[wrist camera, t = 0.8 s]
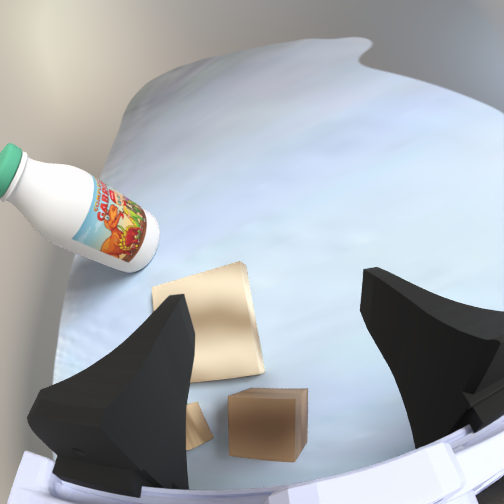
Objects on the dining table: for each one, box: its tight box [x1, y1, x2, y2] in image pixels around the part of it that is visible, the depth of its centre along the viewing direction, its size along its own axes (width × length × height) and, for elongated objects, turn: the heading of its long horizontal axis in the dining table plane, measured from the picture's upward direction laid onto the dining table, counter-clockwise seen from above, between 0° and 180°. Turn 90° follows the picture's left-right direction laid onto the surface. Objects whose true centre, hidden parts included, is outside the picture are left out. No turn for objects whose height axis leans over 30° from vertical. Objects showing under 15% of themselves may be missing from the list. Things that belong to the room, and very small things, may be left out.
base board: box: [152, 261, 265, 383], centre depth 27 cm, size 10×10×2 cm
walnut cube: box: [228, 388, 308, 462], centre depth 20 cm, size 5×5×5 cm
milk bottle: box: [0, 143, 160, 273], centre depth 25 cm, size 8×8×20 cm
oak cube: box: [186, 402, 214, 450], centre depth 23 cm, size 4×4×4 cm
